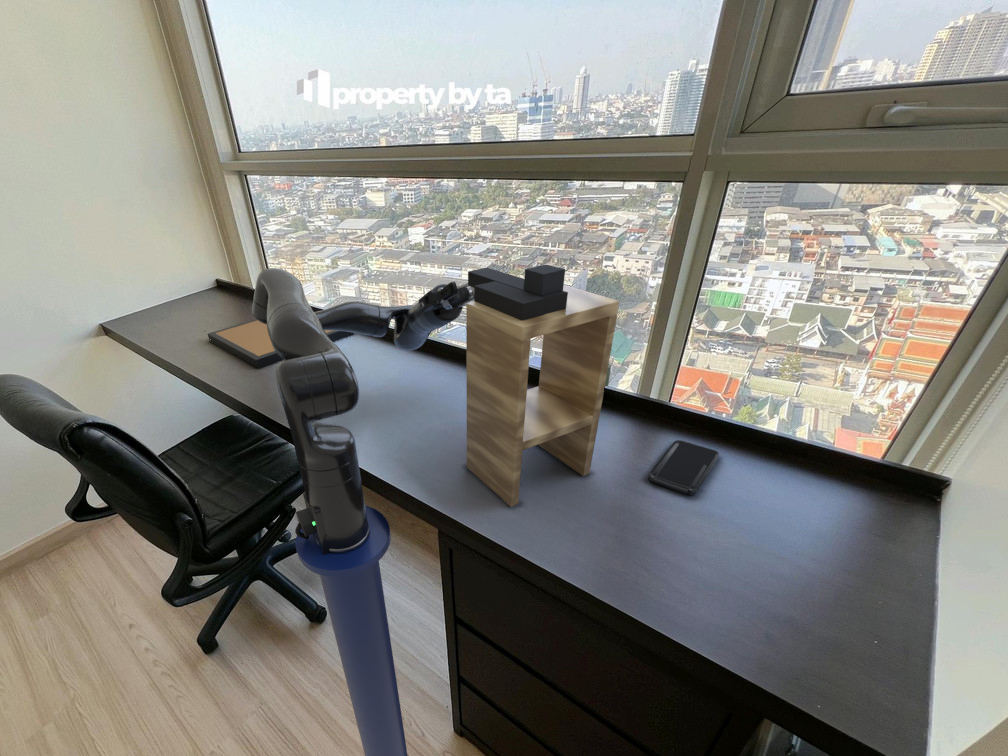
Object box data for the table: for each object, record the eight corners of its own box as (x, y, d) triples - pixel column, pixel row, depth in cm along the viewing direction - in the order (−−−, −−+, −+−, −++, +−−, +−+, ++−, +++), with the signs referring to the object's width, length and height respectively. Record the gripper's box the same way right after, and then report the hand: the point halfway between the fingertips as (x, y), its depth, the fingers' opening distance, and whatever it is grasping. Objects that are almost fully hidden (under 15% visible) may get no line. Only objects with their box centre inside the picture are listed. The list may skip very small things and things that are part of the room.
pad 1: (544, 314, 69) (548, 275, 66) (467, 285, 84) (467, 252, 81) (566, 308, 70) (570, 270, 67) (486, 281, 85) (487, 249, 82)
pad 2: (522, 320, 67) (523, 303, 66) (474, 301, 76) (474, 285, 75) (544, 315, 68) (546, 298, 67) (494, 296, 77) (495, 281, 76)
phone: (647, 475, 85) (676, 438, 94) (646, 480, 86) (675, 443, 95) (695, 492, 81) (721, 452, 89) (694, 497, 81) (719, 457, 90)
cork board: (298, 314, 183) (209, 341, 164) (297, 306, 181) (207, 333, 162) (354, 334, 160) (258, 368, 141) (352, 326, 158) (255, 359, 140)
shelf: (511, 507, 83) (522, 327, 65) (466, 467, 93) (466, 302, 76) (589, 473, 89) (619, 300, 71) (539, 439, 100) (555, 282, 82)
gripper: (470, 319, 103) (513, 295, 88) (412, 333, 98) (446, 311, 83) (461, 284, 102) (502, 255, 87) (401, 297, 97) (434, 268, 82)
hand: (475, 282), depth 85 cm, fingers open, 8 cm apart
